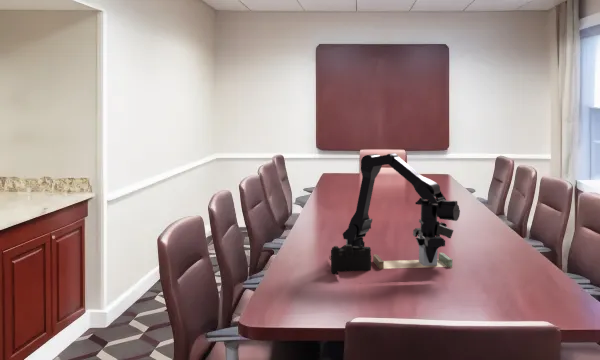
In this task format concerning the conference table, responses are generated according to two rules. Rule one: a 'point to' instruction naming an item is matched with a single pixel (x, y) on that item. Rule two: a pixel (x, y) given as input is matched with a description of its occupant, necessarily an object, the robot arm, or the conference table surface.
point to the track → (411, 263)
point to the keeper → (424, 259)
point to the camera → (350, 259)
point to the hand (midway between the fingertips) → (428, 260)
